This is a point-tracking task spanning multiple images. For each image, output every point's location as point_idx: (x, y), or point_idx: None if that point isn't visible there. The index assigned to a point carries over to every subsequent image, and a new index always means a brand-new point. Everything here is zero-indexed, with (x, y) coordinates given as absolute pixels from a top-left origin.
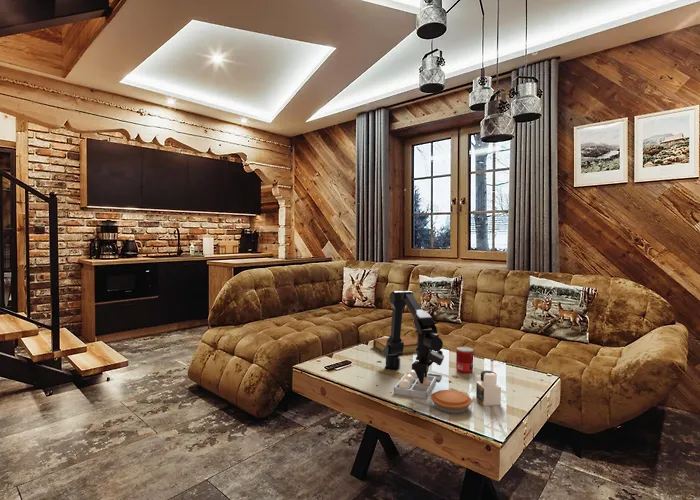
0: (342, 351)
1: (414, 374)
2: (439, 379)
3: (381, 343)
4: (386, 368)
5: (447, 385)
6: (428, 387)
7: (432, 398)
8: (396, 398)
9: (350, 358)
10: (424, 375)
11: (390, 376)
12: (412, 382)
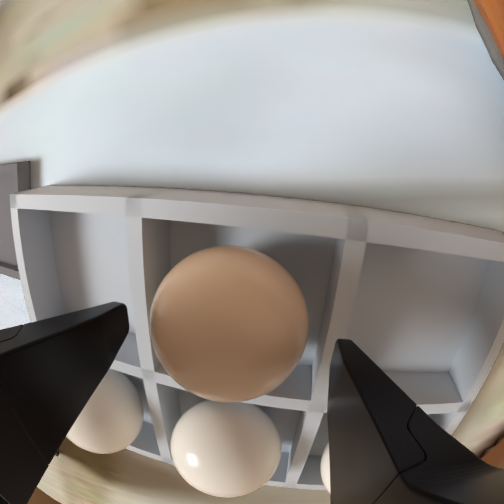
0: (47, 493)
1: (103, 413)
2: (14, 164)
3: None
4: (57, 450)
5: (76, 73)
6: (386, 242)
7: None
8: (473, 425)
9: (69, 499)
10: (390, 420)
11: (121, 459)
12: (257, 419)
